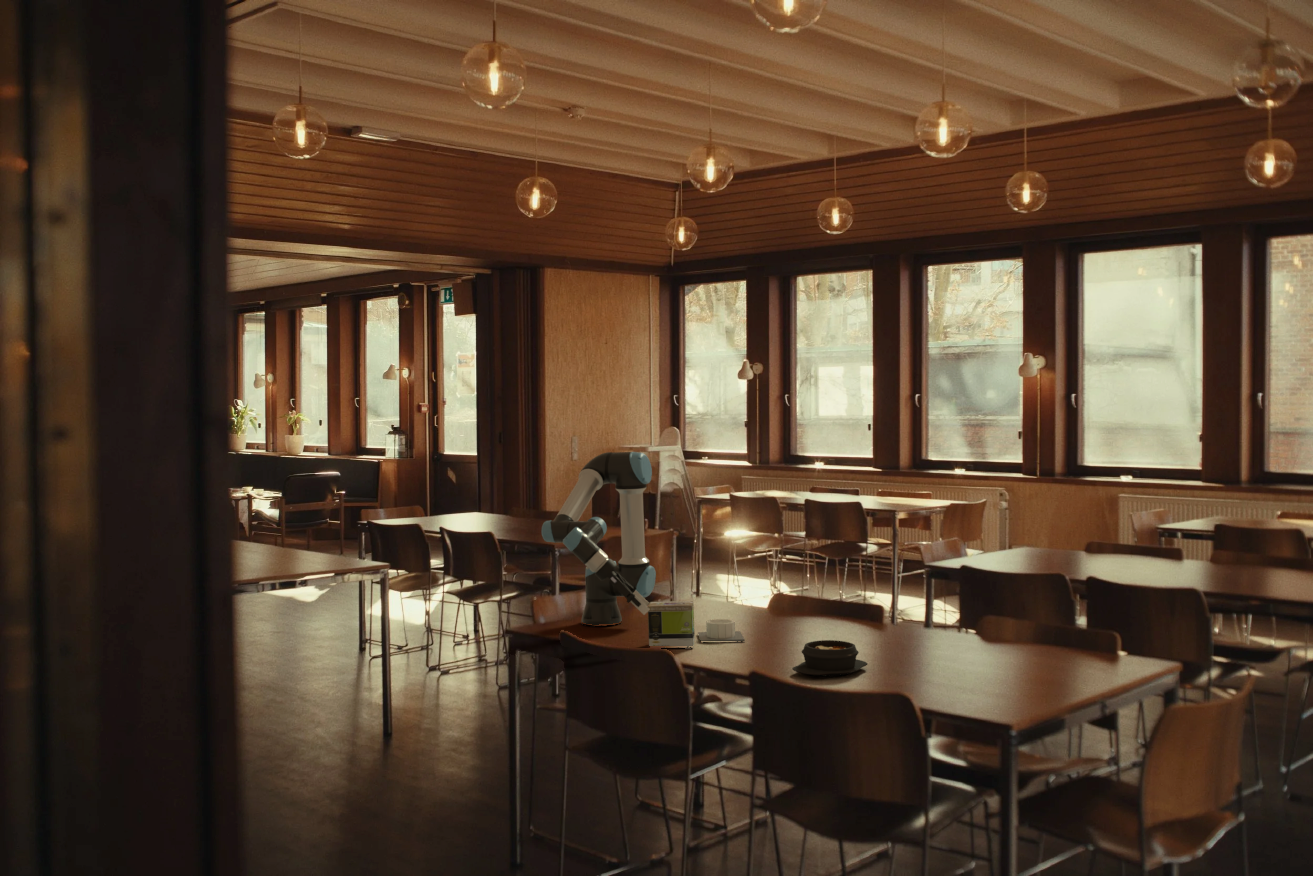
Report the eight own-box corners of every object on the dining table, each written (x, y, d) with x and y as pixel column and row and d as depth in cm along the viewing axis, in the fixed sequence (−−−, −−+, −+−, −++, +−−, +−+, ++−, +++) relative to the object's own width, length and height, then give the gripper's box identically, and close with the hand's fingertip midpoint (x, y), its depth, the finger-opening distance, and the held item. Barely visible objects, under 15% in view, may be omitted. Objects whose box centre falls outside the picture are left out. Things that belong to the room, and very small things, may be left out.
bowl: (697, 635, 404) (697, 618, 404) (740, 634, 404) (739, 617, 404) (700, 643, 389) (700, 625, 389) (744, 642, 389) (744, 624, 389)
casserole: (823, 684, 327) (822, 655, 326) (778, 673, 341) (777, 645, 341) (882, 671, 342) (881, 643, 342) (836, 661, 357) (836, 635, 356)
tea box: (695, 643, 389) (694, 600, 389) (693, 649, 379) (692, 605, 379) (651, 643, 390) (650, 600, 390) (648, 649, 380) (647, 605, 380)
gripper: (595, 569, 396) (639, 611, 396) (592, 578, 371) (639, 623, 371) (610, 553, 396) (654, 596, 396) (608, 561, 371) (655, 606, 371)
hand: (647, 609), depth 384 cm, fingers open, 13 cm apart
